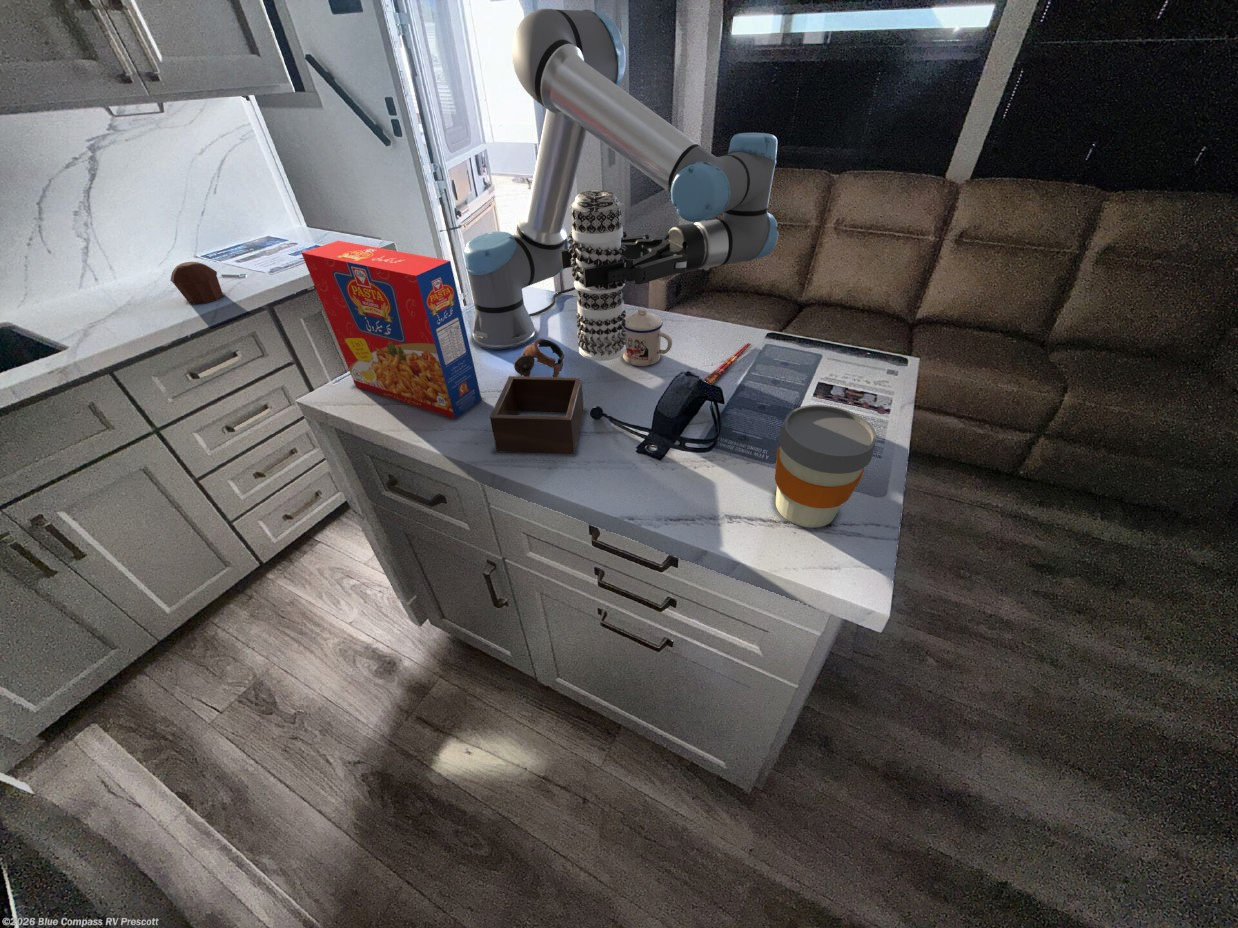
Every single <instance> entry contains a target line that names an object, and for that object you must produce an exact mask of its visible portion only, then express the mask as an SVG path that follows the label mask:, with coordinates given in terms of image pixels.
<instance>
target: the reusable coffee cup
mask: <svg viewBox="0 0 1238 928" xmlns="http://www.w3.org/2000/svg"><path fill="white" fill-rule="evenodd" d="M778 443H779V447H778V448H777V451H776V458H775V470H774V471H775V473H774V481H775V484H776V494H775V507H776V509H777V511H778V512H779V514H780V515H781V516H782V517H783V518H784V519H786V520H787V521H789V522H790V523H792V524H795V525H797V526H800V527H804V528H812V529H813V528H815V529H816V528H821V527H825V526H827V525H829V524H831V522H833V520H834V519H835V517H836V515H837V513H838V512H839V510H840V508H841V507H842V505H844V504H846V503H847V502H848V501H849V500H850V499H851V496H852V495H853V493H854V491H855V490H856V488H857V486H858V485H859V483H860V481H861V480H862V478H863V476H864V473H865V468H866V467H867V466H869V464H870V463H871V462H872V459H873V455H874V453H875V452H874V451H875V448H876V447H875V446H876V443H877V432H876V430H875V428H874V427H873V426H872V424H871V423H870V422H868V420H867V419H865V418H864V417H862V416H860V415H859V414H857V413H854V412H852V411H850V410H848V409H845V408H841V407H838V406H833V405H827V404H807V405H803V406H799V407H797V408H794V409H793V410H791V411H789V413H787V415H786V416H785V418H784V421H783V423H782V426H781V428H780V432H779V434H778Z"/></svg>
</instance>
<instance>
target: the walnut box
mask: <svg viewBox="0 0 1238 928" xmlns="http://www.w3.org/2000/svg"><path fill="white" fill-rule="evenodd" d="M584 407H585V406H584V393H583V381H582V377H564V376H563V377H561V376H560V377H559V376H558V377H552V376H530V377H524V376H521V375H520V376H519V375H516V376H515V375H509V376H508V377H507V380H506V382H505V383H504V386H503V388H502V390H501V393H500V395H499V397H498V399H497V400H496V403H495V405H494V408H493V410H492V411H491V414H490V416H489V420H490V426H491V429H492V435H493V441H494V445H495V448H496V452H497V453H517V454H544V455H545V454H549V455H575V452H576V448H577V443H578V438H579V433H580V430H581V425H582V421H583V418H584V417H583V416H584V412H585V408H584ZM519 412H520V413H553V414H554V413H555V414H556V413H557V414H566V415H565V416H561V415H558V416H557V415H529V414H528V415H526V414H525V415H523V414H519Z"/></svg>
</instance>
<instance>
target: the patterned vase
mask: <svg viewBox="0 0 1238 928" xmlns="http://www.w3.org/2000/svg"><path fill="white" fill-rule="evenodd" d="M568 206H569V209H571V223H572V226H571V231H570V233H569V234H567V237H568V245H569V253H570V254H572V257H573V258H572V259H571V267H570V268H571V276H572V277H573V286H574V287H575V288H576V289H575V290H577V291H576V292H577V301H576V304H577V305H576V306H577V311H576V313H575V318H576V319H577V320H576V327H577V328H578V330H577V332H576V333H577V334H576V336H577V338H578V339H577V345H578V350H579V351H578V352H579V354H580V356H582V358H585V359H587V360H590V361H598V362H603V361H604V362H605V361H611V360H615V359H618V358H620V357H623V354H624V353H625V351H626V347H625V344H626V341H625V340H626V338H625V336H626V333H625V332H626V329H624V326H625V325H626V323H625V322H626V320H625V319H624V318H625V317H626V316H627V313H626V310H625V301H624V298H623V294H624V292H623V289H624V287H625V286H626V283H627V281H626V279H624V281H619V282H614V283H609V284H603V285H598V286H593V287H587V288H585V287H584V279H583V268H587V267H592V266H598V265H604V264H609V263H615V262H621V261H622V262H624V264H626V257H625V256H624V255H623V254H624V253H625V252H626V251H627V248H626V246H624V245H623V244H622V245H621V238H622V237H623V239H624V238H625V237H628V234H627V232H626V231H624V229H623V228H624V227H623V224H622V208H623V207H624V206H625V205H624V202H622V201H620V200H619V199H618V197H617V195H616V194H615V193H614V192H612V191H609V190H599V189H598V190H587V191H586V190H585V191H582V192H580V193H578V194H577V195H576V196H575V198H574V201H573V202H572V203H571V204H568ZM574 248H575V252H574ZM621 254H622V255H621ZM575 262H576V264H575Z"/></svg>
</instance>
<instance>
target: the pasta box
mask: <svg viewBox="0 0 1238 928" xmlns="http://www.w3.org/2000/svg"><path fill="white" fill-rule="evenodd" d="M300 254H301V256H302V258H303V261H304V264H305V267H306V268H307V271H308V273H309V276H310V277H311V280H312V282H313V285H314V288H315V290H316V293H317V295H318V298H319V300H320V302H321V305H322V307H323V310H324V312H325V315H326V317H327V319H328V323H329V325H330V328H331V329H332V332H333V335H334V337H335V339H336V342H337V344H338V346H339V349H340V351H341V354H342V356H343V359H344V361H345V363H346V366H347V369H348V371H349V373H350V376H351V378H352V381H353V383H354V385H355V387H356V388H359V389H362V390H365V391H368V392H370V393H371V392H372V393H374V394H377V395H381V396H384V397H387V398H389V399H392V400H395V401H398V402H401V403H404V404H407V405H410V406H414V407H416V408H419V409H423V410H426V411H429V412H432V413H435V414H438V415H441V416H445V417H447V418H450V419H453V420H457V419H458V418H459V417H460V416H462V415H463V414H464V413H465V412H467V411H468V410H469V409H471V408H472V407H473V406H475V405H476V404H478V403H479V402H480V401H481V400H482V395H481V391H480V387H479V382H478V377H477V373H476V369H475V365H474V360H473V355H472V351H471V346H470V342H469V338H468V333H467V327H466V324H465V319H464V315H463V311H462V307H461V303H460V298H459V293H458V288H457V285H456V280H455V275H454V271H453V266H452V262H451V260H450V259H449V260H448V259H442V258H438V257H432V256H427V255H420V254H415V253H409V252H404V251H397V250H392V249H387V248H382V247H375V246H371V245H365V244H360V243H355V242H348V241H342V240H336V241H332V242H329V243H327V244H323V245H321V246H317V247H314V248H312V249H308V250H305V251H303V252H300Z"/></svg>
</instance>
